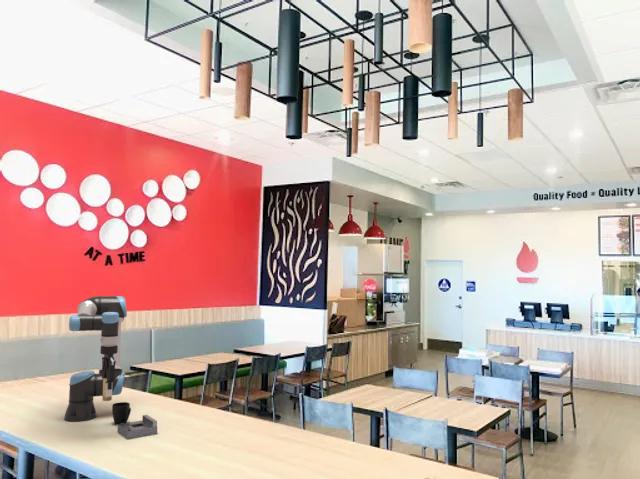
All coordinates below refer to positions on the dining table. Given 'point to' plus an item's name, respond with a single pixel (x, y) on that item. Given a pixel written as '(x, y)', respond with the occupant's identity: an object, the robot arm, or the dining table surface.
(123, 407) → the mug
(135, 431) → the jig
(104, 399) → the brass cylinder
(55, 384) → the dining table surface
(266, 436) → the dining table surface
